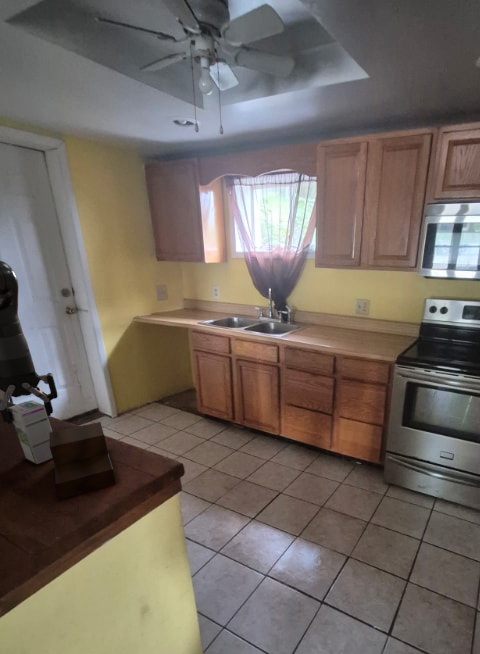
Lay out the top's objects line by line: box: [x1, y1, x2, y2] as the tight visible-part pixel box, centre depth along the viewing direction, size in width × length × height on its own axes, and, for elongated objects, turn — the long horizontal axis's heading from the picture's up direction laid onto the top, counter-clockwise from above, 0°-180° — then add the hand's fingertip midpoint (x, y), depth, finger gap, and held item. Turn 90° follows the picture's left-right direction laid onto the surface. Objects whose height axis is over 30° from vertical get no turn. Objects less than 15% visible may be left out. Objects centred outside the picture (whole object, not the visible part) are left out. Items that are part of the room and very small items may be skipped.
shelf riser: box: [50, 421, 117, 500], centre depth 87 cm, size 11×16×9 cm
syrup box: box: [8, 400, 53, 465], centre depth 92 cm, size 6×6×14 cm
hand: (30, 418), depth 91 cm, fingers closed on syrup box, 7 cm apart
